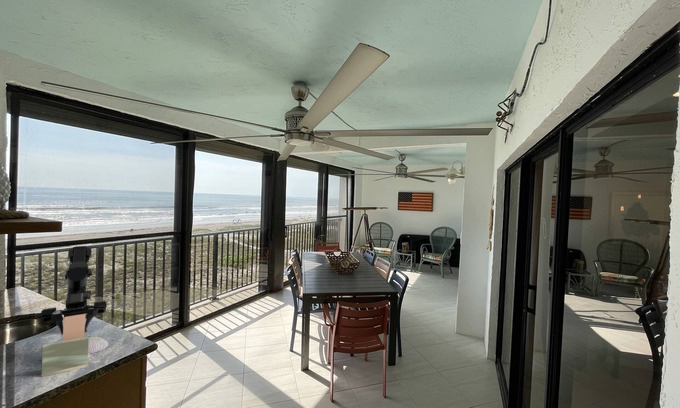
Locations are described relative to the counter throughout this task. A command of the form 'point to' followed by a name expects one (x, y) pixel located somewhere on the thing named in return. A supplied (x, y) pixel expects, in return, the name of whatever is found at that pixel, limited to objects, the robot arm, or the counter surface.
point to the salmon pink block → (74, 327)
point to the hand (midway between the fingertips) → (73, 332)
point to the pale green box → (65, 356)
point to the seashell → (96, 344)
